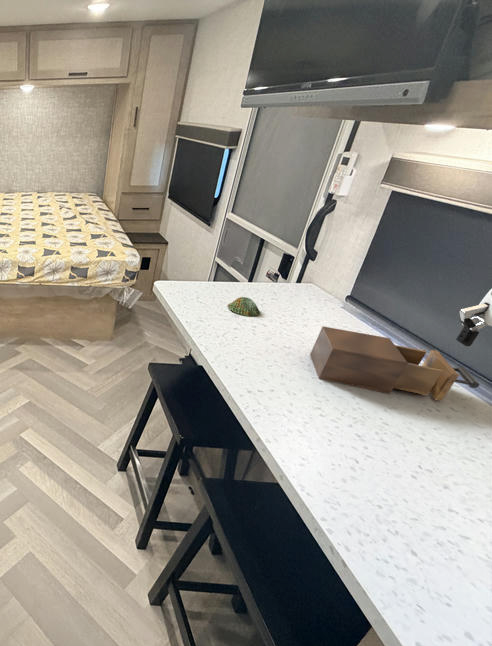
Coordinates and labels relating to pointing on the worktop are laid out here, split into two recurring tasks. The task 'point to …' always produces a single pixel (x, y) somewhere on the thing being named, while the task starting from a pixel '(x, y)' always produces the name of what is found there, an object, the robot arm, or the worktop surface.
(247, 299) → the seashell
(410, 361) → the drawer
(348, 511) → the worktop surface
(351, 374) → the cabinet
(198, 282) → the worktop surface
